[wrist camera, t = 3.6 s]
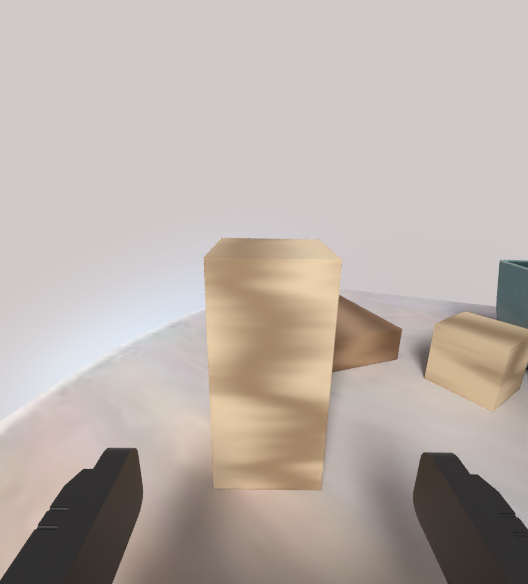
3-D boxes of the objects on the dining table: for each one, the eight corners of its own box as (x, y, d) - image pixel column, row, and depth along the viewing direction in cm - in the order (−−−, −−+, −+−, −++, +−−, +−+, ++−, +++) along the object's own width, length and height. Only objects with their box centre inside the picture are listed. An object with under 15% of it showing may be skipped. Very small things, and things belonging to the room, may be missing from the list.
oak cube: (453, 362, 29) (465, 311, 27) (519, 389, 25) (537, 331, 24) (424, 379, 26) (434, 323, 25) (492, 412, 22) (510, 348, 21)
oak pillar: (307, 417, 21) (319, 239, 18) (321, 490, 16) (342, 259, 13) (226, 416, 21) (221, 237, 18) (213, 488, 16) (203, 257, 13)
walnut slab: (320, 307, 42) (322, 286, 41) (397, 359, 29) (402, 329, 28) (215, 320, 37) (214, 296, 36) (252, 387, 24) (252, 352, 24)
